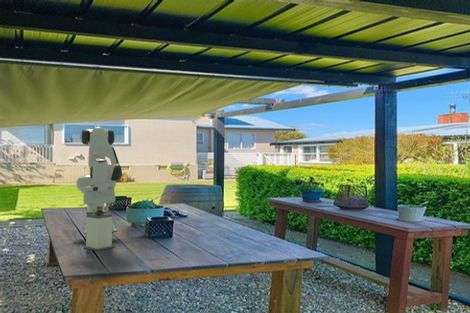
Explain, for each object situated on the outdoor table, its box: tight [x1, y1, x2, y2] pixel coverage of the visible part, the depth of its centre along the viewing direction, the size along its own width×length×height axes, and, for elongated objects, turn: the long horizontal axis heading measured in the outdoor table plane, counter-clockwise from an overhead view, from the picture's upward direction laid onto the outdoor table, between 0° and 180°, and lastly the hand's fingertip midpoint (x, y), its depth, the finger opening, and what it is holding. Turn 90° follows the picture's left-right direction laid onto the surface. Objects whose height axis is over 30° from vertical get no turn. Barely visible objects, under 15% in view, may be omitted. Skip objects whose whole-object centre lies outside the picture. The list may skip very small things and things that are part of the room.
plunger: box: [95, 206, 106, 215], centre depth 251 cm, size 7×7×19 cm
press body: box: [83, 212, 115, 252], centre depth 251 cm, size 12×12×20 cm
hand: (99, 211), depth 251 cm, fingers open, 8 cm apart
